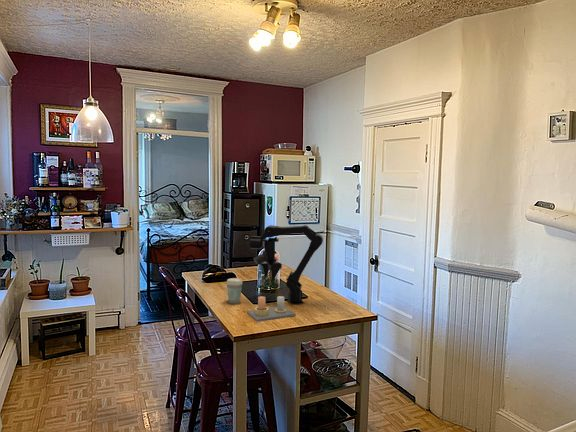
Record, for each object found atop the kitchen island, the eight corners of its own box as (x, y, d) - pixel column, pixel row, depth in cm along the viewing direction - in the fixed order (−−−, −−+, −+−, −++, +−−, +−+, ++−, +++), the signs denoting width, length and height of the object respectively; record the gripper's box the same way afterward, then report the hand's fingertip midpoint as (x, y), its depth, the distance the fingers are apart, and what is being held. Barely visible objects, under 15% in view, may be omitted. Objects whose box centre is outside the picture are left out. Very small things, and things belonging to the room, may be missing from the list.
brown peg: (263, 312, 209) (263, 295, 208) (266, 314, 206) (266, 298, 205) (256, 312, 208) (257, 296, 207) (259, 315, 205) (259, 298, 204)
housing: (283, 307, 219) (284, 292, 219) (295, 315, 208) (296, 299, 207) (246, 312, 211) (247, 296, 210) (257, 321, 199) (257, 304, 198)
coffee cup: (222, 301, 228) (223, 279, 226) (236, 298, 233) (236, 276, 232) (231, 305, 221) (232, 282, 220) (245, 302, 227) (245, 280, 225)
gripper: (249, 247, 233) (248, 275, 235) (262, 253, 217) (261, 284, 218) (267, 246, 238) (267, 273, 240) (282, 252, 222) (281, 282, 223)
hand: (269, 278), depth 230 cm, fingers open, 9 cm apart
